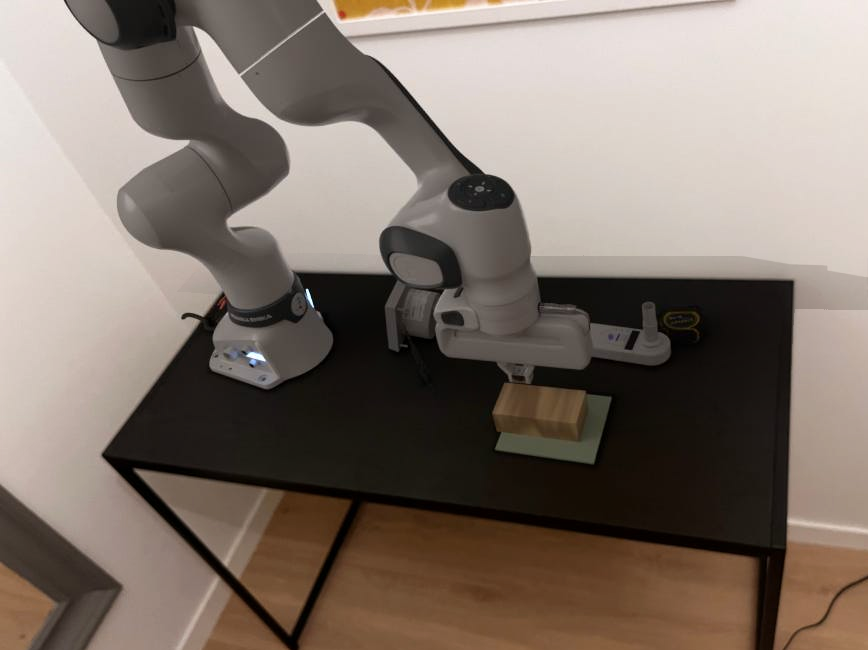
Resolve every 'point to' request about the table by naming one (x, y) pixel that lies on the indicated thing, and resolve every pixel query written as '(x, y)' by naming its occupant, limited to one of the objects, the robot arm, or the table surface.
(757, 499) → the table surface
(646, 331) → the electronic device
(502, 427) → the block
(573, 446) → the mat
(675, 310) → the tape measure
